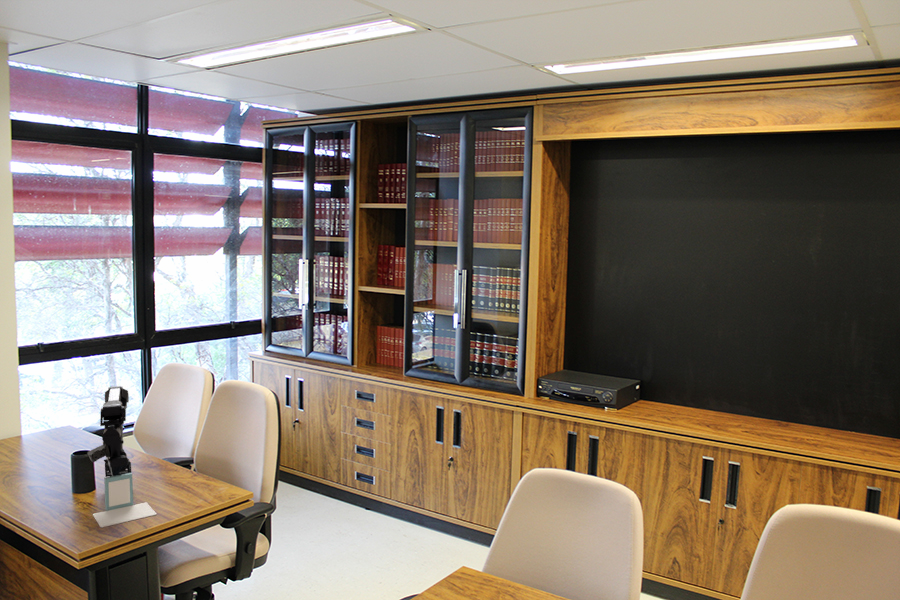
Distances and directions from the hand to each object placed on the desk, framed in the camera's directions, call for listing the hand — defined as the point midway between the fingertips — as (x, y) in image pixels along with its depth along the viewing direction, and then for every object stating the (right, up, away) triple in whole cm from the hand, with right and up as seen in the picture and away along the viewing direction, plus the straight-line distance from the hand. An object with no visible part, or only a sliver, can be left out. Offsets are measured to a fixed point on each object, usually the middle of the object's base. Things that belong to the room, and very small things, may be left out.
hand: (114, 479), depth 246 cm
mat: (+9, -10, -11) cm, 17 cm away
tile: (+4, -9, -4) cm, 11 cm away
